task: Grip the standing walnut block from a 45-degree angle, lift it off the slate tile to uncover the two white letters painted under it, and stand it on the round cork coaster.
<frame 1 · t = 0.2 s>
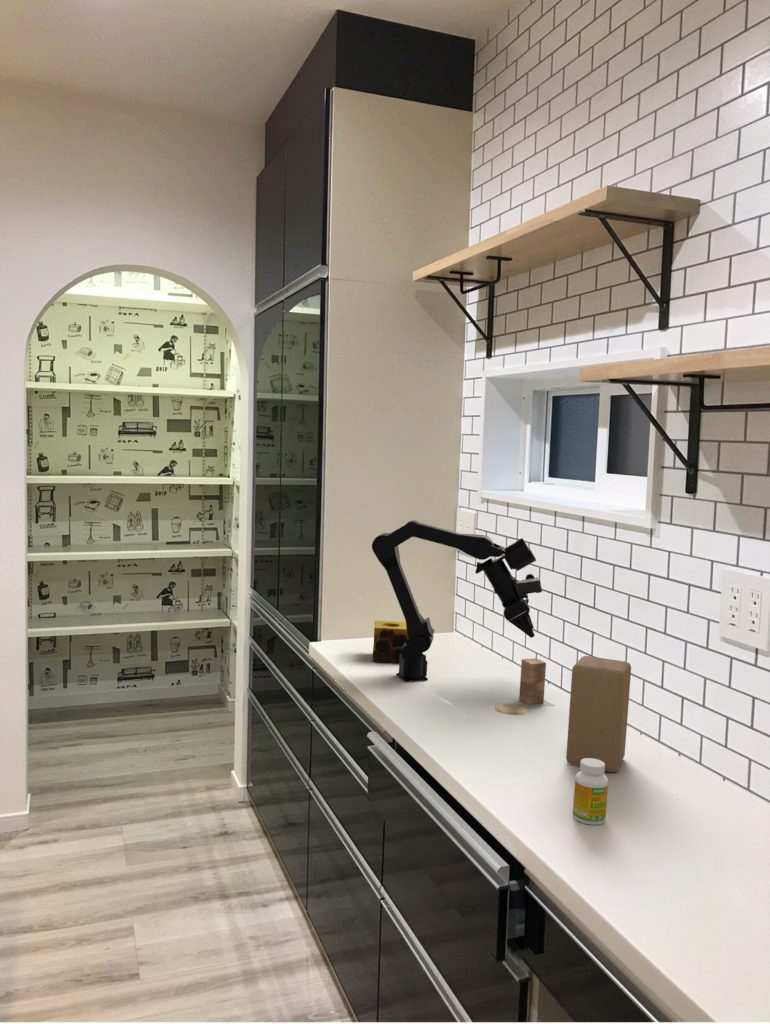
hand: (532, 632, 213), 15 cm above the worktop, tool tilted 35°, fingers open, 9 cm apart
cork coaster: (511, 710, 195), on the worktop
block: (595, 762, 166), on the worktop
code tile: (531, 702, 202), on the worktop
walnut block: (531, 701, 202), resting on code tile
supplement bottle: (588, 819, 140), on the worktop
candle: (390, 660, 237), on the worktop
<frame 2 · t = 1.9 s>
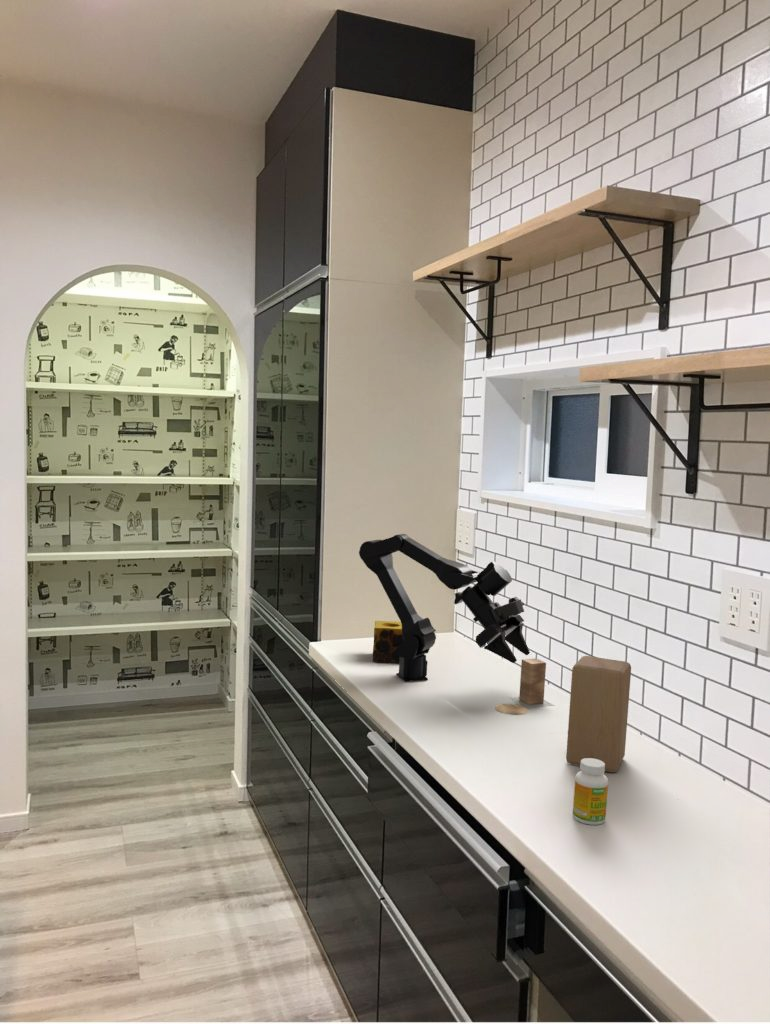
hand: (521, 658, 203), 11 cm above the worktop, tool tilted 45°, fingers open, 9 cm apart
nothing on the worktop moved.
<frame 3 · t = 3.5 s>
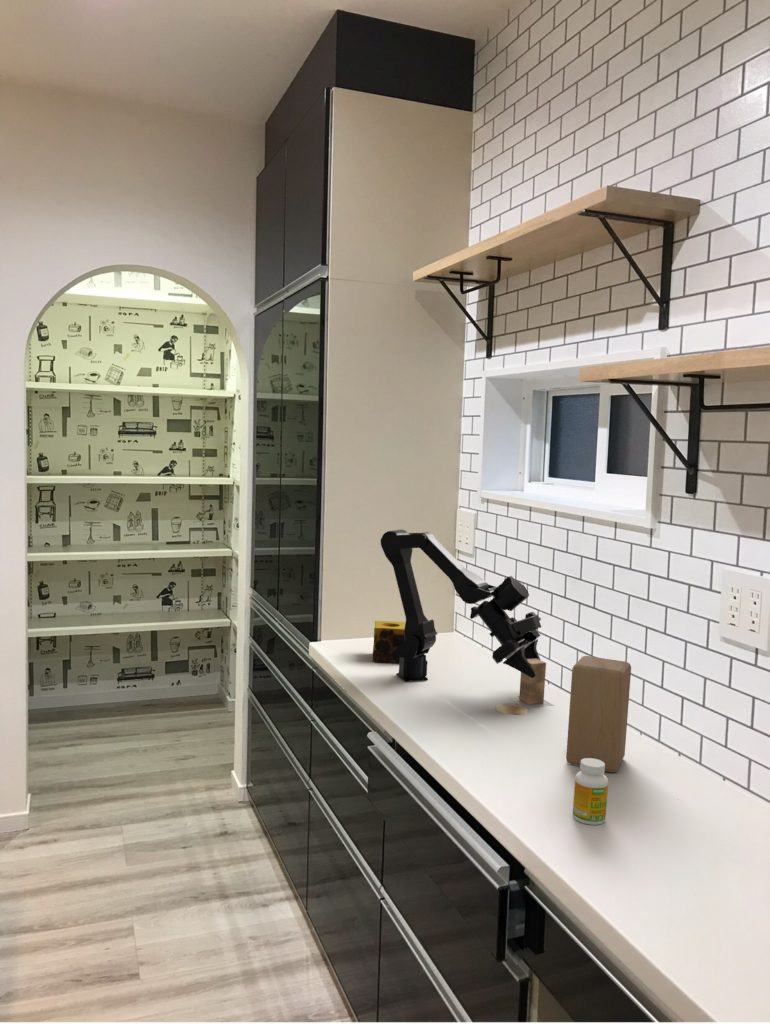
hand: (538, 674, 201), 7 cm above the worktop, tool tilted 45°, fingers closed on walnut block, 6 cm apart
walnut block: (531, 701, 202), resting on code tile, touching gripper
everything else where it was.
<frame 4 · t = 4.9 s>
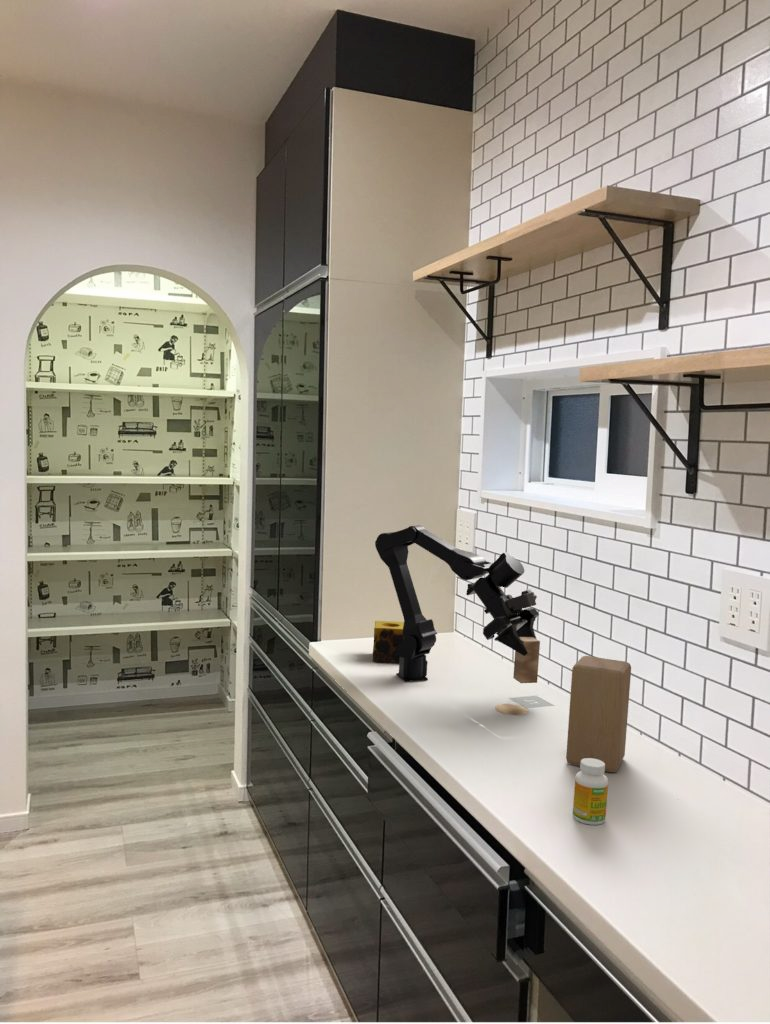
hand: (532, 652, 197), 13 cm above the worktop, tool tilted 45°, fingers closed on walnut block, 6 cm apart
walnut block: (525, 680, 199), point 6 cm above the worktop, touching gripper
everything else where it was.
when the fingers open (9 cm above the worktop, at t = 6.5 s): walnut block drops 1 cm, resting on cork coaster.
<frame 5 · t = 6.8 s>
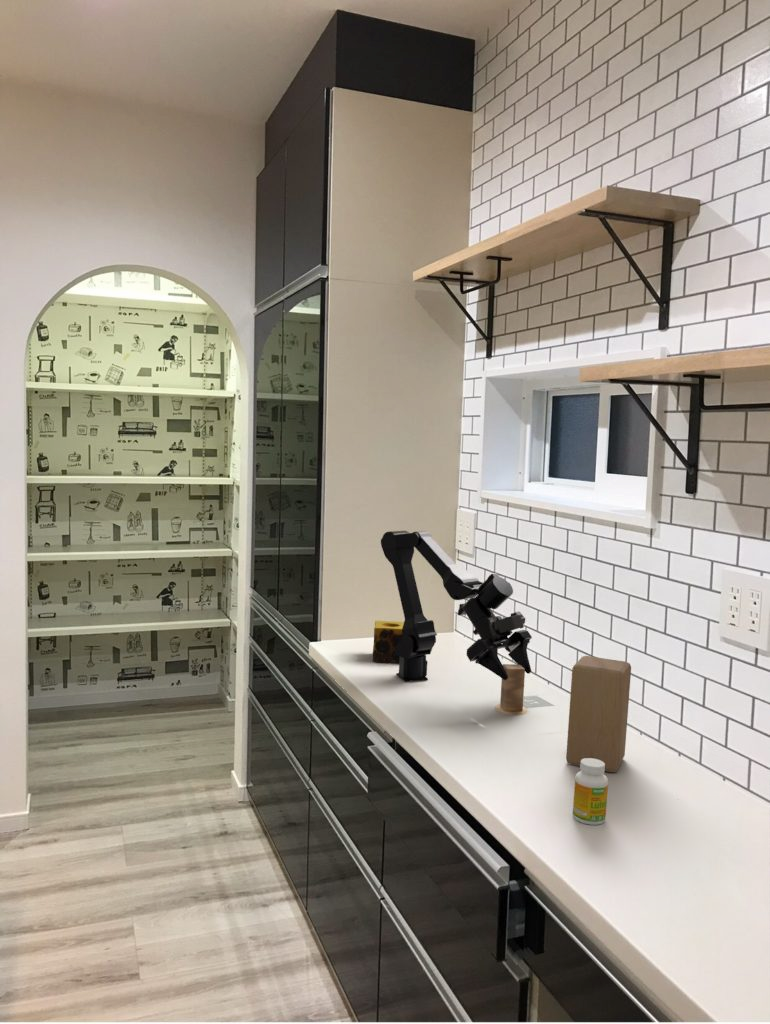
hand: (518, 675, 194), 9 cm above the worktop, tool tilted 45°, fingers open, 9 cm apart
walnut block: (511, 708, 195), resting on cork coaster
everything else where it was.
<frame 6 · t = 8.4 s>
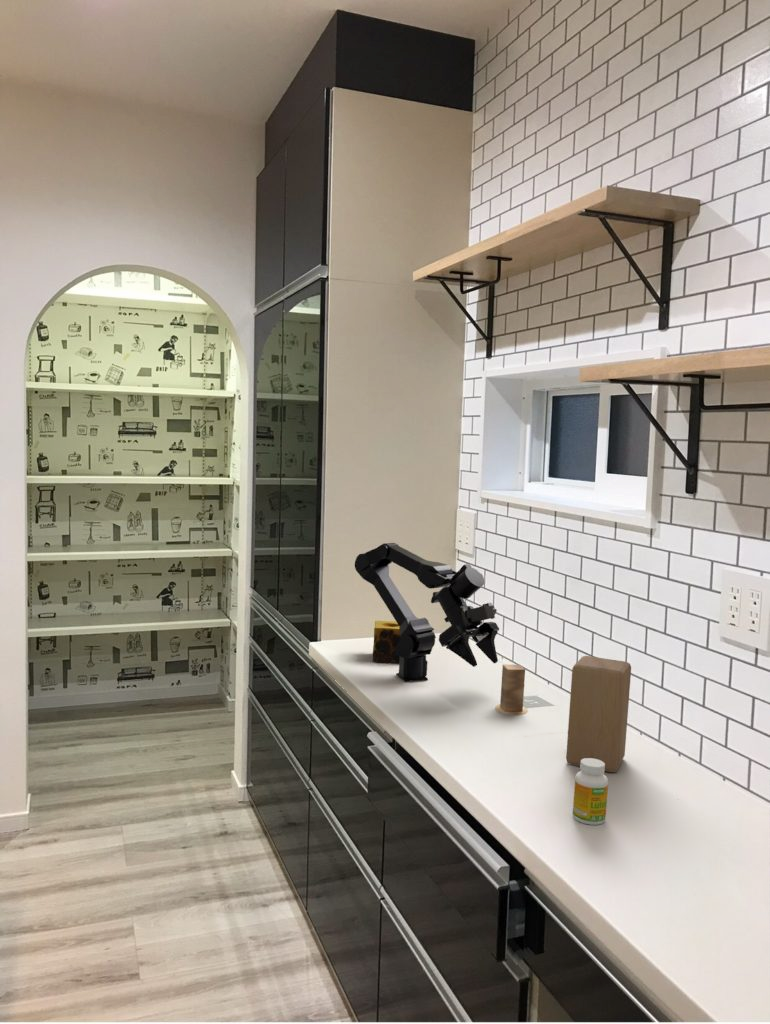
hand: (486, 664, 200), 9 cm above the worktop, tool tilted 40°, fingers open, 9 cm apart
nothing on the worktop moved.
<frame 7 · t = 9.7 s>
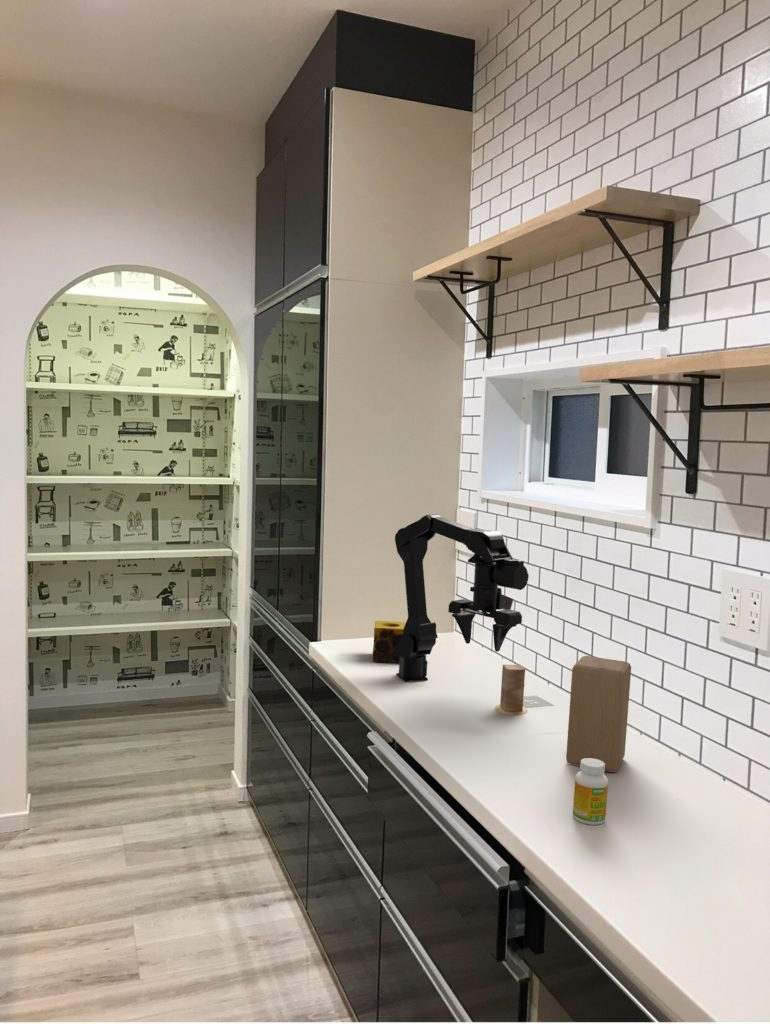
hand: (482, 647, 201), 13 cm above the worktop, tool pointing down, fingers open, 9 cm apart
nothing on the worktop moved.
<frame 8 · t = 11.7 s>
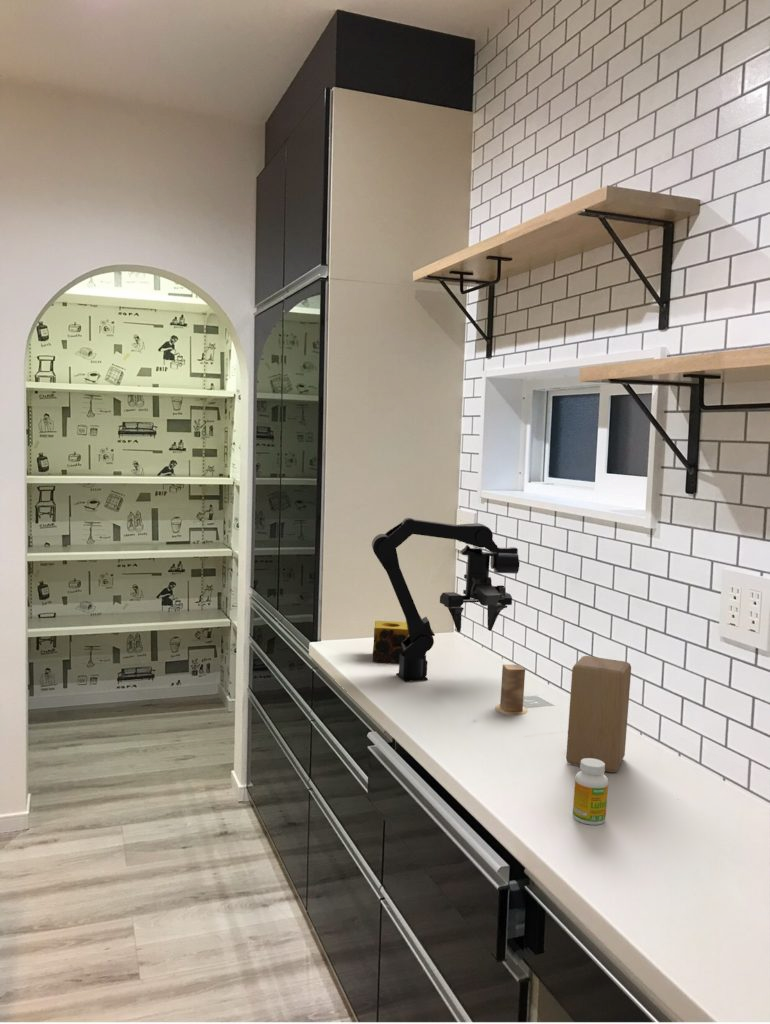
hand: (474, 631, 218), 13 cm above the worktop, tool pointing down, fingers open, 9 cm apart
nothing on the worktop moved.
at the end: walnut block inside the target area on the cork coaster (0.1 cm from its centre), point 0.4 cm above the cork coaster's base; walnut block tilted 0°; the gripper is holding nothing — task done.
